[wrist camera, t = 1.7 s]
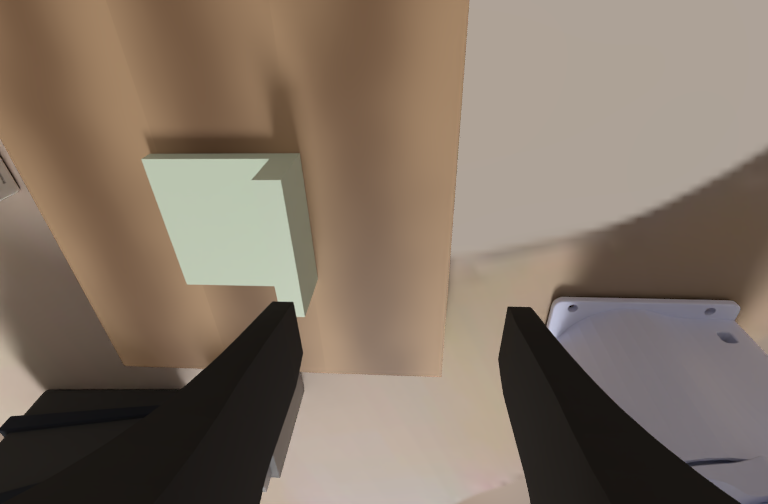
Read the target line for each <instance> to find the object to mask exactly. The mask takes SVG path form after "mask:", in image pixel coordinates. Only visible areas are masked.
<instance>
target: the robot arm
mask: <svg viewBox="0 0 768 504" xmlns="http://www.w3.org/2000/svg"><path fill="white" fill-rule="evenodd" d="M571 305H574V306H573V307H569V306H571ZM708 308H709V309H708ZM706 309H707V310H706ZM739 312H740V306H739V305H738V304H737V303H736V302H734V301H731V300H688V299H640V298H593V297H559V298H557V299H555V300H554V301H553V303H552V306H551V310H550V313H549V317H548V321H547V325H545V324H544V323H543V321H542V320H541V319H540V318H539V316H538V315H537V314H536V313H535V312H534V310H533V309H532V308H531V307H508V308H507V314H506V319H505V325H504V330H503V336H502V341H501V347H500V352H499V358H498V361H499V368H500V376H501V383H502V389H503V395H504V399H505V403H506V407H507V410H508V414H509V418H510V422H511V426H512V429H513V433H514V437H515V440H516V444H517V448H518V452H519V455H520V459H521V463H522V467H523V470H524V474H525V478H526V483H527V487H528V492H529V497H530V503H531V504H768V355H767V354H766V353H765V352H764V351H763V350H762V349H761V348H760V347H759V346H758V345H757V344H756V343H755V341H754V340H753V339H752V338H751V337H750V336H749V335H748V334H747V333H746V332H745V331H744V330H743V329H742V328H741V327H740V326H739V325H738V324H737V323H736V322H735V321H734V320H735V319H736V317H737V315H738V314H739ZM302 357H303V349H302V344H301V338H300V333H299V328H298V323H297V317H296V312H295V307H294V302H278V301H273V302H271V303H270V304H269V305H268V306H267V307H266V308H265V309H264V310H263V311H262V312H261V314H260V315H259V316H258V317H257V318H256V319H255V320H254V321H253V322H252V323H251V324H250V325H249V326H248V327H247V328H246V329H245V330H244V331H243V332H242V333H241V334H240V335H239V336H238V337H237V338H236V339H235V340H234V341H233V342H232V343H231V344H230V345H229V346H228V347H227V348H226V349H225V350H224V351H223V352H222V353H221V354H220V355H219V356H218V357H217V358H216V359H215V360H214V361H212V362H211V363H210V364H209V365H208V366H207V367H206V368H205V369H204V370H203V371H201V372H200V373H199V374H198V375H197V376H196V377H195V378H194V379H193V380H191V381H190V382H189V383H188V384H187V385H186V386H184V387H183V388H182V389H181V390H180V391H178V392H177V393H176V394H175V395H173V396H172V397H171V398H169V399H168V400H167V401H166V402H164V403H163V404H162V405H160V406H159V407H158V408H157V409H155V410H154V411H152V412H151V413H150V414H148V415H147V416H145V417H144V418H143V419H141V420H140V421H138V422H137V423H135V424H134V425H132V426H131V427H130V428H128V429H127V430H125V431H124V432H122V433H121V434H119V435H118V436H117V437H115V438H114V439H112V440H111V441H109V442H108V443H106V444H104V445H103V446H101V447H100V448H98V449H97V450H95V451H93V452H92V453H90V454H89V455H87V456H85V457H84V458H82V459H80V460H79V461H77V462H75V463H74V464H72V465H70V466H69V467H67V468H65V469H64V470H62V471H60V472H59V473H57V474H55V475H53V476H52V477H50V478H48V479H46V480H44V481H43V482H41V483H39V484H37V485H35V486H33V487H32V488H30V489H28V490H26V491H24V492H22V493H20V494H19V495H17V496H15V497H13V498H11V499H9V500H7V501H6V502H4V503H2V504H260V500H261V495H262V491H263V487H264V483H265V479H266V475H267V472H268V469H269V465H270V462H271V459H272V456H273V453H274V450H275V447H276V444H277V442H278V439H279V436H280V433H281V430H282V427H283V424H284V421H285V418H286V415H287V412H288V410H289V407H290V404H291V401H292V398H293V395H294V392H295V389H296V385H297V381H298V376H299V372H300V367H301V362H302Z"/></svg>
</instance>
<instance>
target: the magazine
mask: <svg viewBox="0 0 768 504" xmlns="http://www.w3.org/2000/svg"><path fill="white" fill-rule="evenodd" d="M178 391H179V390H48V391H45V392H44V393H43V394H42V395H41V396H40V397H39V398H38V400H37V401H36V402H35V403H34V404H33V405H32V406H31V408H30V409H29V410H28V411H27V412H26V413H25V414H24V415H22V416H11V417H10V418H9V419H8V420H7V421H6V422H5V423H4V424H3V425H2V426H1V427H0V433H1V434H2V435H3V436H4V439H3V440H2V441H1V442H0V504H2V503H4V502H6V501H7V500H9V499H11V498H13V497H15V496H17V495H19V494H20V493H22V492H24V491H26V490H28V489H30V488H32V487H33V486H35V485H37V484H39V483H41V482H43V481H44V480H46V479H48V478H50V477H52V476H53V475H55V474H57V473H59V472H60V471H62V470H64V469H65V468H67V467H69V466H70V465H72V464H74V463H75V462H77V461H79V460H80V459H82V458H84V457H85V456H87V455H89V454H90V453H92V452H93V451H95V450H97V449H98V448H100V447H101V446H103V445H104V444H106V443H108V442H109V441H111V440H112V439H114V438H115V437H117V436H118V435H119V434H121V433H122V432H124V431H125V430H127V429H128V428H130V427H131V426H132V425H134V424H135V423H137V422H138V421H140V420H141V419H143V418H144V417H145V416H147V415H148V414H150V413H151V412H152V411H154V410H155V409H157V408H158V407H159V406H160V405H162V404H163V403H164V402H166V401H167V400H168V399H169V398H171V397H172V396H173V395H175V394H176V393H177V392H178Z"/></svg>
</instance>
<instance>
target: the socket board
mask: <svg viewBox="0 0 768 504" xmlns="http://www.w3.org/2000/svg"><path fill="white" fill-rule="evenodd" d="M468 12H469V0H0V139H1V141H2V143H3V145H4V146H5V148H6V150H7V152H8V154H9V156H10V157H11V159H12V161H13V163H14V165H15V167H16V168H17V170H18V172H19V174H20V176H21V178H22V179H23V181H24V183H25V185H26V187H27V189H28V190H29V192H30V194H31V196H32V198H33V200H34V201H35V203H36V205H37V207H38V209H39V211H40V212H41V214H42V216H43V218H44V220H45V221H46V223H47V225H48V227H49V229H50V231H51V232H52V234H53V236H54V238H55V240H56V242H57V243H58V245H59V247H60V249H61V251H62V253H63V254H64V256H65V258H66V260H67V262H68V264H69V265H70V267H71V269H72V271H73V273H74V275H75V276H76V278H77V280H78V282H79V284H80V286H81V287H82V289H83V291H84V293H85V295H86V297H87V298H88V300H89V302H90V304H91V306H92V308H93V309H94V311H95V313H96V315H97V317H98V319H99V320H100V322H101V324H102V326H103V328H104V330H105V331H106V333H107V335H108V337H109V339H110V341H111V342H112V344H113V346H114V348H115V350H116V352H117V353H118V355H119V357H120V359H121V361H122V363H123V364H124V366H141V367H170V368H198V369H205V368H206V367H207V366H208V365H209V364H210V363H211V362H212V361H214V360H215V359H216V358H217V357H218V356H219V355H220V354H221V353H222V352H223V351H224V350H225V349H226V348H227V347H228V346H229V345H230V344H231V343H232V342H233V341H234V340H235V339H236V338H237V337H238V336H239V335H240V334H241V333H242V332H243V331H244V330H245V329H246V328H247V327H248V326H249V325H250V324H251V323H252V322H253V321H254V320H255V319H256V318H257V317H258V316H259V315H260V314H261V312H262V311H263V310H264V309H265V308H266V307H267V306H268V305H269V304H270V303H271V302H273V301H278V300H277V296H276V291H275V287H274V286H237V285H188V284H187V283H186V281H185V278H184V275H183V272H182V270H181V267H180V264H179V261H178V259H177V256H176V253H175V250H174V248H173V245H172V242H171V240H170V237H169V234H168V231H167V229H166V226H165V223H164V220H163V218H162V215H161V212H160V209H159V207H158V204H157V201H156V199H155V196H154V193H153V190H152V188H151V185H150V182H149V179H148V177H147V174H146V171H145V168H144V166H143V163H142V160H141V159H142V158H144V157H145V156H147V155H149V154H223V153H300V158H301V165H302V172H303V179H304V186H305V193H306V200H307V207H308V214H309V221H310V228H311V235H312V242H313V249H314V256H315V263H316V270H317V277H318V280H317V283H316V286H315V289H314V292H313V295H312V298H311V301H310V304H309V307H308V310H307V313H306V316H305V317H297V323H298V328H299V333H300V338H301V344H302V349H303V357H302V362H301V367H300V372H312V373H340V374H368V375H397V376H425V377H441V374H442V361H443V348H444V334H445V321H446V307H447V294H448V280H449V267H450V253H451V240H452V226H453V213H454V198H455V186H456V173H457V159H458V145H459V133H460V119H461V106H462V91H463V79H464V78H463V77H464V65H465V52H466V51H465V50H466V37H467V25H468Z"/></svg>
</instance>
